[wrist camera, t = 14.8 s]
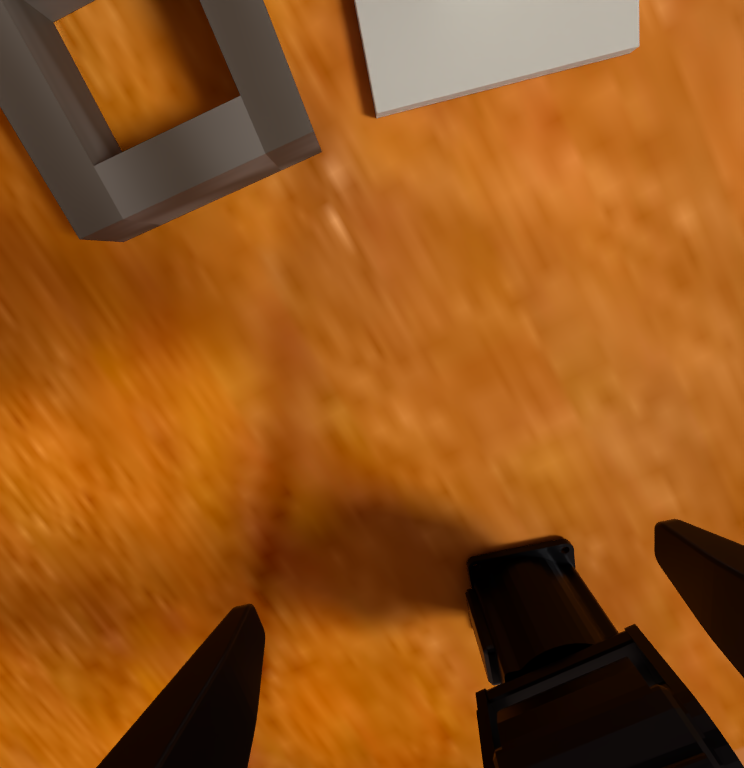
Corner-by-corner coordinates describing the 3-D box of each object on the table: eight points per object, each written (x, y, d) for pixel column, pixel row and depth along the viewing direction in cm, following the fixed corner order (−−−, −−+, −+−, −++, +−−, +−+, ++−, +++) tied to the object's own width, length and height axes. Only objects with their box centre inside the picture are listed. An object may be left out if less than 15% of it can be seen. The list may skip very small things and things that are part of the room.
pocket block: (208, -140, 14) (170, -238, 12) (321, 152, 17) (313, 131, 15) (-21, -14, 15) (-109, -76, 13) (123, 241, 18) (79, 239, 16)
